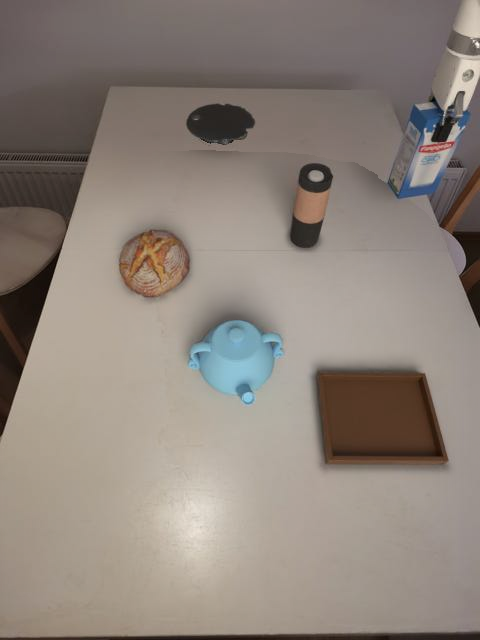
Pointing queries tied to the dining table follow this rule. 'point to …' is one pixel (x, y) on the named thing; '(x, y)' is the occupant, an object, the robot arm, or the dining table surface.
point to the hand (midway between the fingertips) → (433, 130)
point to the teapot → (236, 358)
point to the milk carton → (423, 152)
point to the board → (220, 123)
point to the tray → (379, 419)
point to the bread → (153, 263)
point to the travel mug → (310, 204)
